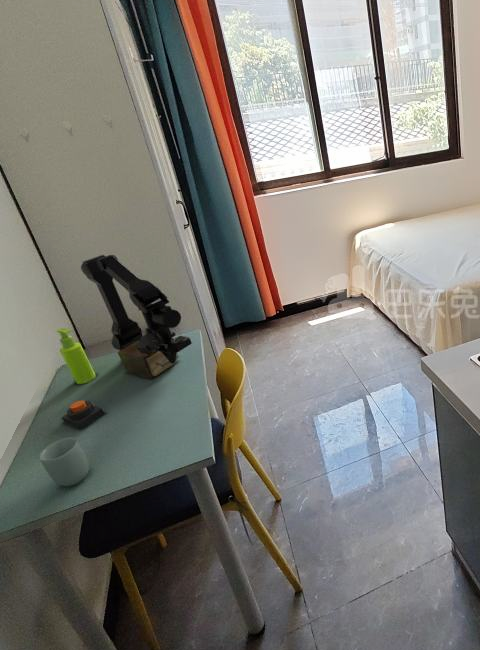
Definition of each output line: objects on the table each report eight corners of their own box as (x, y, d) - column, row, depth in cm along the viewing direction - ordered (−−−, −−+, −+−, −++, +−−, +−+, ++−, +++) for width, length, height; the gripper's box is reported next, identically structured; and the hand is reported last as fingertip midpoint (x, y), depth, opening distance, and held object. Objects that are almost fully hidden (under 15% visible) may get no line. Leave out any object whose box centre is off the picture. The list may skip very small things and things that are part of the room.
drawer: (186, 363, 155) (180, 346, 152) (163, 378, 147) (156, 361, 144) (154, 356, 162) (148, 340, 159) (131, 370, 154) (123, 354, 151)
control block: (64, 422, 133) (58, 412, 131) (87, 408, 138) (82, 397, 136) (82, 429, 129) (76, 418, 127) (105, 413, 134) (99, 403, 133)
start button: (70, 411, 131) (67, 406, 130) (82, 403, 134) (79, 399, 133) (77, 413, 130) (74, 409, 129) (89, 406, 133) (86, 401, 132)
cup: (75, 492, 106) (57, 461, 102) (49, 490, 108) (30, 459, 104) (101, 467, 113) (85, 437, 109) (76, 465, 115) (59, 436, 111)
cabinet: (177, 361, 158) (169, 341, 154) (152, 379, 149) (143, 357, 146) (152, 356, 164) (144, 336, 160) (126, 372, 155) (117, 351, 151)
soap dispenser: (84, 385, 150) (58, 335, 142) (72, 382, 153) (46, 332, 145) (101, 376, 155) (77, 326, 147) (89, 372, 158) (65, 323, 150)
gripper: (115, 331, 140) (134, 372, 147) (154, 338, 132) (172, 381, 139) (146, 315, 149) (162, 354, 156) (184, 320, 141) (200, 361, 148)
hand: (173, 363), depth 149 cm, fingers closed
